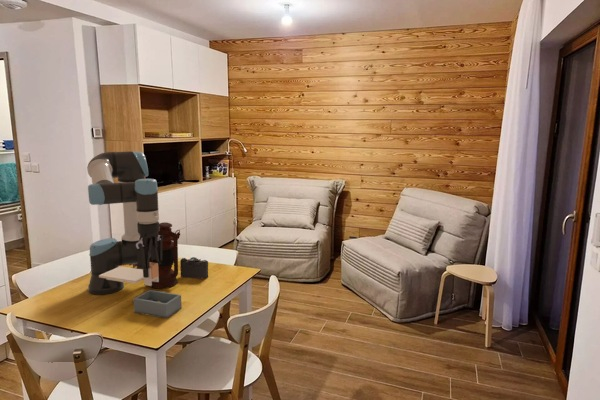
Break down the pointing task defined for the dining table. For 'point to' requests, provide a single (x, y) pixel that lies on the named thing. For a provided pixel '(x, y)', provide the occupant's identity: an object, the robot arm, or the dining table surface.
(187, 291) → the dining table surface
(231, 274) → the dining table surface
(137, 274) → the lid
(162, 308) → the tub
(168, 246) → the lantern
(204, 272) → the camera
